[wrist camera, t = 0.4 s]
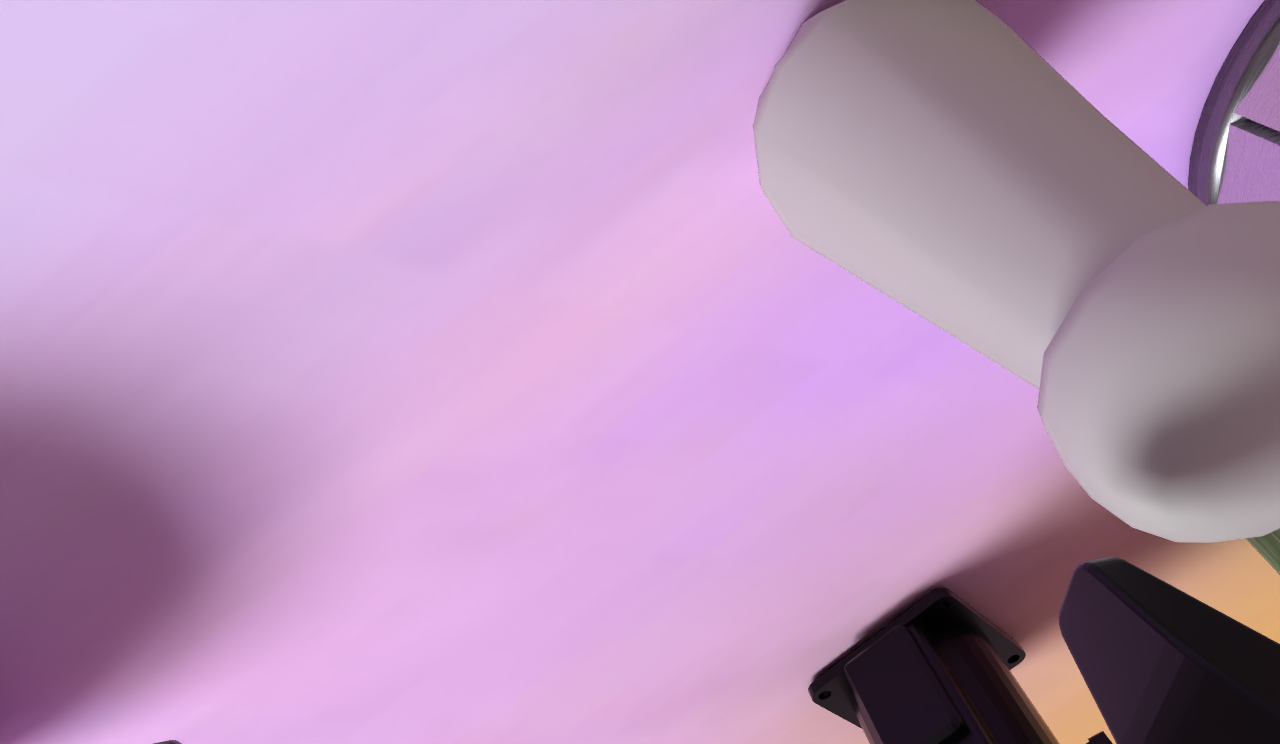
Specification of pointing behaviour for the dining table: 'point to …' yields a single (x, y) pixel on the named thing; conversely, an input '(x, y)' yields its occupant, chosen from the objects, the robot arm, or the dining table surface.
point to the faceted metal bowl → (1242, 120)
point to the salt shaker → (1041, 252)
